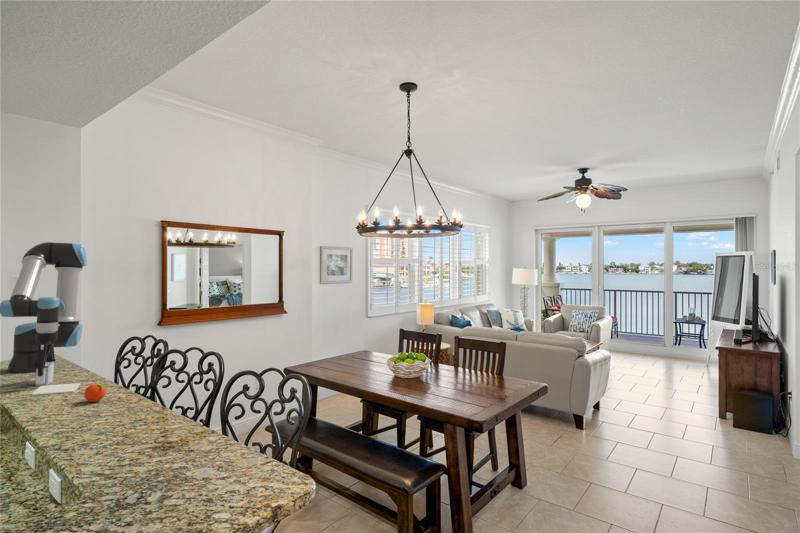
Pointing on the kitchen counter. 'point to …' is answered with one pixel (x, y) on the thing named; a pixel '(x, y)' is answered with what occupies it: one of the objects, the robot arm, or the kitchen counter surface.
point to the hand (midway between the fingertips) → (44, 379)
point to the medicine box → (47, 374)
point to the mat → (56, 389)
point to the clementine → (95, 392)
